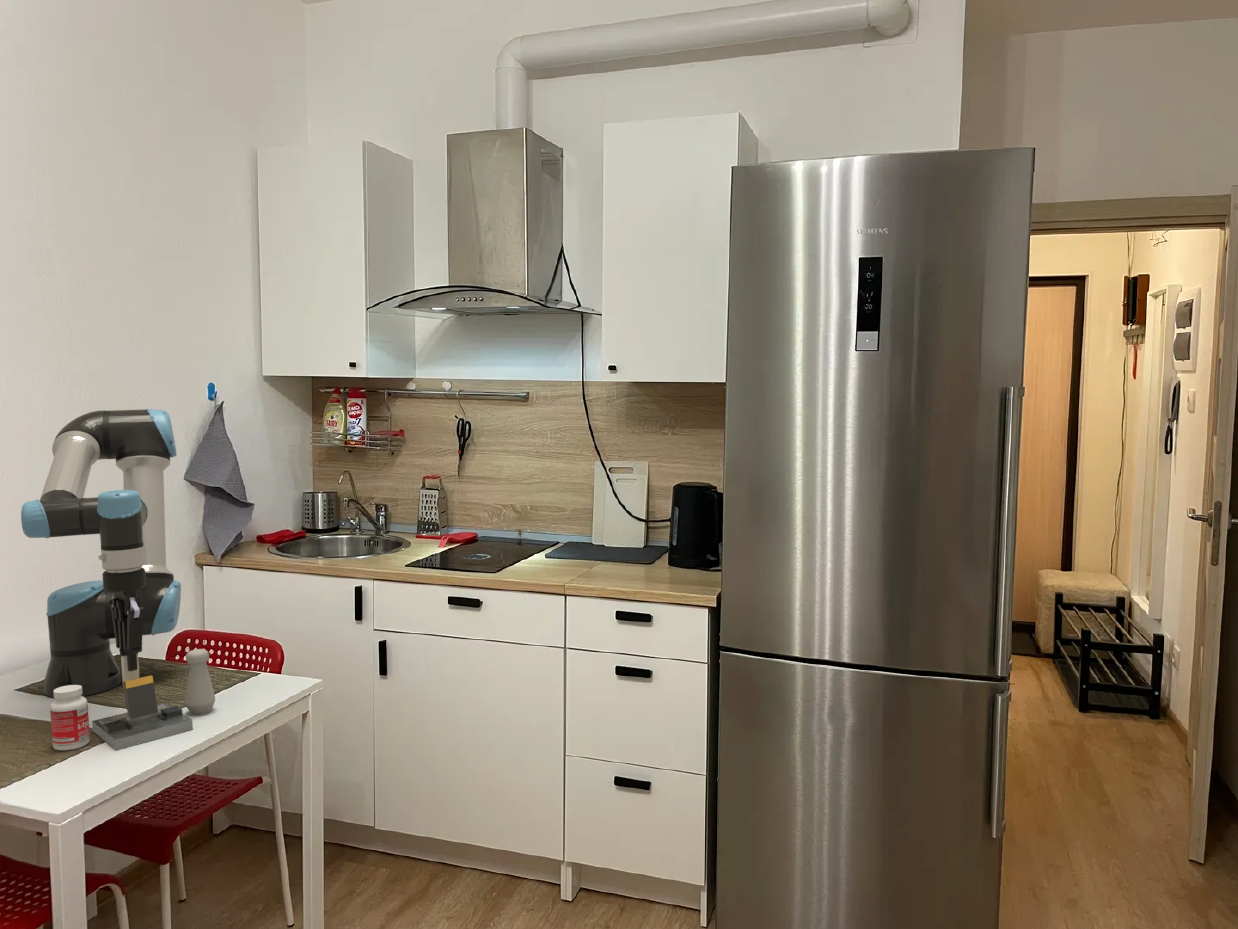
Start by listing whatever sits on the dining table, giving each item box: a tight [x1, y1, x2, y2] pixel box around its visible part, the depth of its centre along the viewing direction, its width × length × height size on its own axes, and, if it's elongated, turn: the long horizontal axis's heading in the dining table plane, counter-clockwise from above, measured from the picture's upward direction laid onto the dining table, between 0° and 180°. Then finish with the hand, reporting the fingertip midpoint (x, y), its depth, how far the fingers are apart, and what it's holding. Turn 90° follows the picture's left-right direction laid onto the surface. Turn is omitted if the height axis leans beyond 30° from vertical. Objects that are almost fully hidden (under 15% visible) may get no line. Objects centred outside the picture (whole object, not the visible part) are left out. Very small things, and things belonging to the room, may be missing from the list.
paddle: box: [122, 675, 161, 724], centre depth 186 cm, size 2×6×8 cm, turn 135°
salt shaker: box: [184, 648, 216, 716], centre depth 196 cm, size 6×6×13 cm
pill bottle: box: [49, 685, 91, 751], centre depth 179 cm, size 6×6×11 cm
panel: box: [91, 702, 194, 751], centre depth 186 cm, size 14×14×3 cm
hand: (131, 685), depth 189 cm, fingers closed
